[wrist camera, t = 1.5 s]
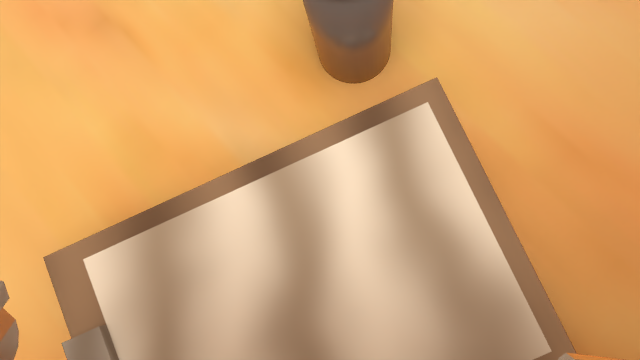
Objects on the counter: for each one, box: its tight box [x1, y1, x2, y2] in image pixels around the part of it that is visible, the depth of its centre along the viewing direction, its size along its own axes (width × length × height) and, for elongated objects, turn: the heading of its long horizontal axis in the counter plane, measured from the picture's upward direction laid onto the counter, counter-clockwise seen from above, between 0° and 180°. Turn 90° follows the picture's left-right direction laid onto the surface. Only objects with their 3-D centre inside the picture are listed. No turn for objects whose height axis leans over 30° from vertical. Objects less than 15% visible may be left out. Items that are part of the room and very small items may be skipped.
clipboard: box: [43, 78, 576, 360], centre depth 28 cm, size 22×15×2 cm
